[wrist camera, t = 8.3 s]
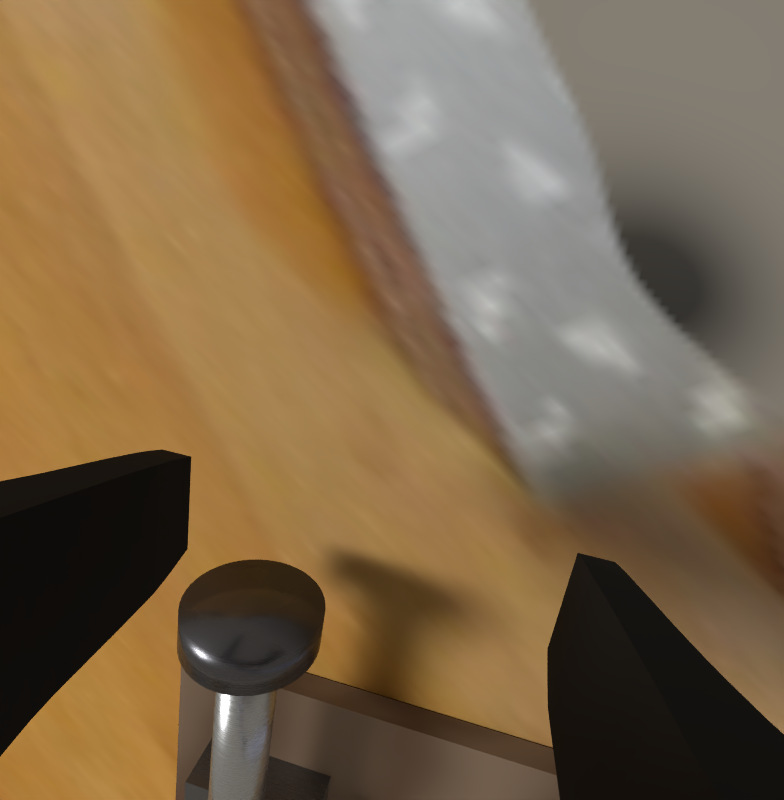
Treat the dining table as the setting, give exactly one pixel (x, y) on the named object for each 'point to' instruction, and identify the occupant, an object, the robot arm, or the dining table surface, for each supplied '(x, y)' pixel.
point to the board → (379, 746)
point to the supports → (285, 787)
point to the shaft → (247, 659)
